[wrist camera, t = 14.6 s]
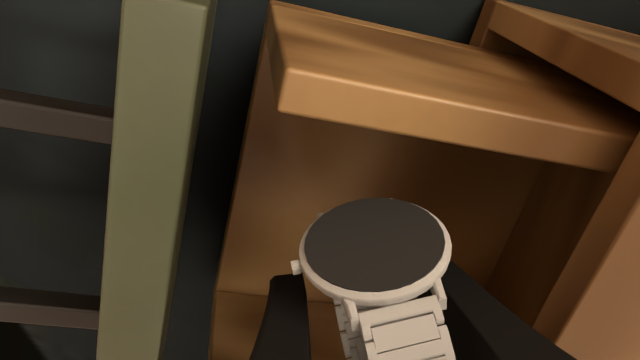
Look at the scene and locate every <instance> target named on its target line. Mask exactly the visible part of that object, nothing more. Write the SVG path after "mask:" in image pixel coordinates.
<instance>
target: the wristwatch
mask: <svg viewBox="0 0 640 360" xmlns="http://www.w3.org/2000/svg"><path fill="white" fill-rule="evenodd" d="M451 250H452V244H451V240H450V235H449V233H448V231H447V230H446V228H445V226H444V224H443V223H442V222H441V221H440V220H439V219H438V218H437V217H436V216H435V215H433V214H432V213H430V212H429V211H428V210H426V209H424V208H422V207H420V206H418V205H415V204H412V203H409V202H406V201H402V200H397V199H393V198H367V199H359V200H355V201H351V202H347V203H344V204H342V205H339V206H336V207H335V208H333V209H331V210H329V211H327V212H325V213H318V215H317V219H316V220H315V221H314V222H313V223H312V224H310V226H309V227H308V229H307V230H306V231H305V233H304V235H303V237H302V240H301V242H300V247H299V258H300V260H299V261H298V260H294V261H291V267H292V271H293V275H297V274H301V272H304V273H305V275H306V277H307V278H308V279H309V281H310V282H311V283H312V284H313V285H314V286H315V287H316V288H317V289H319V290H320V291H321V292H323V293H324V294H325V295H327V296H329V297H331V298H333V302H334V305H338V304H340V305H338V306H334V307H335V312H336V317H337V322H338V327H339V330H340V331H342V330H346V331H344V332H340V336H341V341H342V345H343V349H344V354H345V357H346V358H348V357H352V358H350V359H346V360H456V358H455V354H454V350H453V346H452V342H451V339H450V335H449V331H448V328H447V326H446V325H442V326H438V327H437V325H440V324H444V316H443V313H442V310H445V309H447V298H446V295H445V291H444V288H443V285H442V282H441V277H442V276H443V274H444V273H445V271H446V270H447V267H448V264H449V262H450V259H451ZM299 265H300V266H299ZM300 269H301V270H300ZM429 289H430V290H431V293H432V296H428V297H424V298H420V299H416V300H411V299H413V298H415V297H417V296H419V295H421V294H423V293H424V292H426V291H428V290H429ZM408 300H411V301H408ZM405 301H407V302H405ZM401 302H403V303H401ZM397 303H399V304H397ZM392 304H395V305H392ZM389 305H390V306H389ZM357 336H359V337H357ZM353 337H355V338H353ZM349 338H351V339H349ZM437 338H438V339H437ZM420 342H421V343H420ZM416 343H417V344H416ZM412 344H413V345H412ZM408 345H409V346H408ZM404 346H405V347H404ZM354 347H356V348H354ZM400 347H401V348H400ZM350 348H352V349H350Z"/></svg>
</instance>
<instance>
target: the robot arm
mask: <svg viewBox="0 0 640 360" xmlns="http://www.w3.org/2000/svg"><path fill="white" fill-rule="evenodd" d="M441 282H442V285H443V288H444V291H445V295H446V298H447V309H445V310H442V313H443V316H444V324H440V325H437V327H438V326H442V325H446V326H447V328H448V331H449V335H450V339H451V342H452V346H453V350H454V354H455V358H456V360H577V359H576V358H574V357H573V356H571V355H570V354H568V353H567V352H565V351H564V350H562V349H561V348H559V347H558V346H557V345H555V344H554V343H552V342H551V341H550V340H548V339H547V338H546V337H544V336H543V335H541V334H540V333H539V332H537V331H536V330H534V329H533V328H532V327H530V326H529V325H528V324H527V323H525V322H524V321H523V320H521V319H520V318H519V317H518V316H516V315H515V314H514V313H513V312H511V311H510V310H509V309H508V308H506V307H505V306H504V305H503V304H501V303H500V302H499V301H498V300H497V299H495V298H494V297H493V296H492V295H491V294H489V293H488V292H487V291H486V290H485V289H484V288H483V287H481V286H480V285H479V284H478V283H477V282H476V281H474V280H473V279H472V278H471V277H470V276H469V275H468V274H466V273H465V272H464V271H463V270H462V269H461V268H460V267H458V266H457V265H456V264H455V263H454V262H453V261H451V260H450V262H449V264H448V267H447V270H446V271H445V273H444V274H443V276H442V277H441ZM428 296H432V293H431V290H430V289H429V290H428V291H426V292H424V293H423V294H421V295H419V296H417V299H420V298H424V297H428ZM437 339H438V338H437ZM420 343H421V342H420ZM249 360H311V348H310V334H309V319H308V305H307V293H306V288H305V282H304V277H303V273H301V274H297V275H293V274H285V275H276V276H274V277H273V278H272V279H271V280H270V286H269V294H268V300H267V304H266V308H265V312H264V316H263V320H262V323H261V326H260V329H259V332H258V335H257V338H256V341H255V344H254V347H253V350H252V353H251V356H250V358H249Z"/></svg>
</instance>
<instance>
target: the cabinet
mask: <svg viewBox="0 0 640 360" xmlns="http://www.w3.org/2000/svg"><path fill="white" fill-rule="evenodd" d="M469 45H471V46H475V47H480V48H484V49H488V50H493V51H497V52H501V53H506V54H510V55H514V56H519V57H523V58H527V59H532V60H536V61H540V62H545V63H549V64H553V65H555V66H557V67H559V68H560V69H562V70H564V71H566V72H568V73H569V74H571V75H573V76H575V77H577V78H578V79H580V80H582V81H584V82H586V83H587V84H589V85H591V86H593V87H595V88H597V89H598V90H600V91H602V92H604V93H606V94H607V95H609V96H611V97H613V98H615V99H616V100H618V101H620V102H622V103H624V104H625V105H627V106H629V107H631V108H633V109H634V110H636V111H638V112H640V35H637V34H633V33H629V32H626V31H622V30H618V29H614V28H610V27H606V26H602V25H598V24H594V23H590V22H586V21H583V20H579V19H575V18H571V17H567V16H563V15H559V14H555V13H551V12H547V11H543V10H540V9H536V8H532V7H528V6H524V5H520V4H516V3H512V2H508V1H504V0H485V2H484V5H483V8H482V11H481V13H480V16H479V19H478V21H477V24H476V27H475V30H474V32H473V35H472V38H471V40H470V43H469ZM532 328H533V329H534V330H536V331H537V332H539V333H540V334H541V335H543V336H544V337H546V338H547V339H548V340H550V341H551V342H552V343H554V344H555V345H557V346H558V347H559V348H561V349H562V350H564V351H565V352H567V353H568V354H570V355H571V356H573V357H574V358H576V359H577V360H640V131H639V133H638V135H637V137H636V138H635V140H634V142H633V144H632V146H631V147H630V149H629V151H628V153H627V155H626V156H625V158H624V160H623V162H622V164H621V166H620V167H619V169H618V171H617V173H616V175H615V176H614V178H613V180H612V182H611V184H610V185H609V187H608V189H607V191H606V193H605V195H604V196H603V198H602V200H601V202H600V204H599V205H598V207H597V209H596V211H595V213H594V214H593V216H592V218H591V220H590V222H589V224H588V225H587V227H586V229H585V231H584V233H583V234H582V236H581V238H580V240H579V242H578V243H577V245H576V247H575V249H574V251H573V253H572V254H571V256H570V258H569V260H568V262H567V263H566V265H565V267H564V269H563V271H562V272H561V274H560V276H559V278H558V280H557V281H556V283H555V285H554V287H553V289H552V291H551V292H550V294H549V296H548V298H547V300H546V301H545V303H544V305H543V307H542V309H541V310H540V312H539V314H538V316H537V318H536V320H535V321H534V323H533V325H532Z"/></svg>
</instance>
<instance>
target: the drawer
mask: <svg viewBox="0 0 640 360" xmlns="http://www.w3.org/2000/svg"><path fill="white" fill-rule="evenodd" d="M217 2H218V0H122V3H121V17H120V31H119V45H118V59H117V73H116V87H115V101H114V108H109V107H104V106H98V105H92V104H86V103H81V102H75V101H69V100H63V99H57V98H52V97H46V96H40V95H34V94H29V93H23V92H17V91H11V90H6V89H0V127H3V128H10V129H16V130H22V131H29V132H35V133H41V134H48V135H54V136H60V137H66V138H73V139H79V140H85V141H92V142H98V143H104V144H111V157H110V171H109V185H108V199H107V213H106V227H105V241H104V255H103V269H102V283H101V296H94V295H84V294H74V293H63V292H53V291H43V290H33V289H23V288H12V287H2V286H0V321H2V322H13V323H25V324H37V325H49V326H61V327H72V328H84V329H96V330H98V339H97V353H96V360H162V359H163V353H164V348H165V342H166V336H167V330H168V325H169V319H170V313H171V308H172V302H173V296H174V289H175V283H176V276H177V269H178V263H179V256H180V249H181V243H182V236H183V229H184V222H185V216H186V209H187V202H188V196H189V189H190V182H191V176H192V169H193V162H194V156H195V149H196V142H197V136H198V129H199V122H200V116H201V109H202V102H203V96H204V89H205V82H206V75H207V69H208V62H209V55H210V49H211V42H212V35H213V29H214V22H215V15H216V9H217ZM639 131H640V112H638V111H636V110H634V109H633V108H631V107H629V106H627V105H625V104H624V103H622V102H620V101H618V100H616V99H615V98H613V97H611V96H609V95H607V94H606V93H604V92H602V91H600V90H598V89H597V88H595V87H593V86H591V85H589V84H587V83H586V82H584V81H582V80H580V79H578V78H577V77H575V76H573V75H571V74H569V73H568V72H566V71H564V70H562V69H560V68H559V67H557V66H555V65H553V64H549V63H545V62H540V61H536V60H532V59H527V58H523V57H519V56H514V55H510V54H506V53H501V52H497V51H493V50H488V49H484V48H480V47H475V46H471V45H467V44H462V43H458V42H454V41H449V40H445V39H441V38H436V37H432V36H428V35H424V34H419V33H415V32H411V31H406V30H402V29H398V28H393V27H389V26H385V25H380V24H376V23H372V22H367V21H363V20H359V19H354V18H350V17H346V16H341V15H337V14H333V13H328V12H324V11H320V10H315V9H311V8H307V7H302V6H298V5H294V4H289V3H285V2H281V1H276V0H270V1H269V4H268V9H267V14H266V19H265V25H264V30H263V35H262V40H261V46H260V51H259V56H258V61H257V66H256V72H255V77H254V82H253V87H252V93H251V98H250V103H249V108H248V113H247V119H246V124H245V129H244V134H243V140H242V145H241V150H240V155H239V160H238V166H237V171H236V176H235V181H234V187H233V192H232V197H231V202H230V207H229V213H228V218H227V223H226V228H225V234H224V239H223V244H222V249H221V254H220V260H219V265H218V270H217V275H216V281H215V286H214V291H213V301H212V314H211V327H210V340H209V353H208V360H249V358H250V356H251V353H252V350H253V347H254V344H255V341H256V338H257V335H258V332H259V329H260V326H261V323H262V320H263V316H264V312H265V308H266V304H267V300H268V294H269V286H270V280H271V279H272V278H273V277H274V276H276V275H285V274H293V271H292V267H291V261H294V260H298V261H299V260H300V258H299V247H300V242H301V240H302V237H303V235H304V233H305V231H306V230H307V229H308V227H309V226H310V224H312V223H313V222H314V221H315V220H316V219H317V215H318V213H325V212H327V211H329V210H331V209H333V208H335V207H336V206H339V205H342V204H344V203H347V202H351V201H355V200H359V199H367V198H393V199H397V200H402V201H406V202H409V203H412V204H415V205H418V206H420V207H422V208H424V209H426V210H428V211H429V212H430V213H432V214H433V215H435V216H436V217H437V218H438V219H439V220H440V221H441V222H442V223H443V224H444V226H445V228H446V230H447V231H448V233H449V235H450V240H451V244H452V250H451V259H450V260H451V261H453V262H454V263H455V264H456V265H457V266H458V267H460V268H461V269H462V270H463V271H464V272H465V273H466V274H468V275H469V276H470V277H471V278H472V279H473V280H474V281H476V282H477V283H478V284H479V285H480V286H481V287H483V288H484V289H485V290H486V291H487V292H488V293H489V294H491V295H492V296H493V297H494V298H495V299H497V300H498V301H499V302H500V303H501V304H503V305H504V306H505V307H506V308H508V309H509V310H510V311H511V312H513V313H514V314H515V315H516V316H518V317H519V318H520V319H521V320H523V321H524V322H525V323H527V324H528V325H529V326H530V327H532V325H533V323H534V321H535V320H536V318H537V316H538V314H539V312H540V310H541V309H542V307H543V305H544V303H545V301H546V300H547V298H548V296H549V294H550V292H551V291H552V289H553V287H554V285H555V283H556V281H557V280H558V278H559V276H560V274H561V272H562V271H563V269H564V267H565V265H566V263H567V262H568V260H569V258H570V256H571V254H572V253H573V251H574V249H575V247H576V245H577V243H578V242H579V240H580V238H581V236H582V234H583V233H584V231H585V229H586V227H587V225H588V224H589V222H590V220H591V218H592V216H593V214H594V213H595V211H596V209H597V207H598V205H599V204H600V202H601V200H602V198H603V196H604V195H605V193H606V191H607V189H608V187H609V185H610V184H611V182H612V180H613V178H614V176H615V175H616V173H617V171H618V169H619V167H620V166H621V164H622V162H623V160H624V158H625V156H626V155H627V153H628V151H629V149H630V147H631V146H632V144H633V142H634V140H635V138H636V137H637V135H638V133H639ZM299 266H300V265H299ZM300 270H301V269H300ZM301 273H303V277H304V282H305V288H306V293H307V305H308V319H309V334H310V348H311V360H346V359H350V358H352V357H348V358H346V357H345V354H344V349H343V345H342V341H341V336H340V332H344V331H346V330H342V331H340V330H339V327H338V322H337V317H336V312H335V307H334V306H338V305H340V304H338V305H334V302H333V298H331V297H329V296H327V295H325V294H324V293H323V292H321V291H320V290H319V289H317V288H316V287H315V286H314V285H313V284H312V283H311V282H310V281H309V279H308V278H307V277H306V275H305V273H304V272H301ZM416 299H417V297H415V298H413V299H411V300H416ZM411 300H408V301H411ZM405 302H407V301H405ZM401 303H403V302H401ZM397 304H399V303H397ZM392 305H395V304H392ZM389 306H390V305H389ZM357 337H359V336H357ZM353 338H355V337H353ZM349 339H351V338H349ZM416 344H417V343H416ZM412 345H413V344H412ZM408 346H409V345H408ZM404 347H405V346H404ZM354 348H356V347H354ZM400 348H401V347H400ZM350 349H352V348H350Z"/></svg>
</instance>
